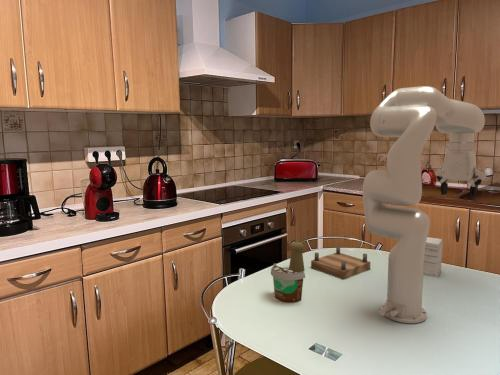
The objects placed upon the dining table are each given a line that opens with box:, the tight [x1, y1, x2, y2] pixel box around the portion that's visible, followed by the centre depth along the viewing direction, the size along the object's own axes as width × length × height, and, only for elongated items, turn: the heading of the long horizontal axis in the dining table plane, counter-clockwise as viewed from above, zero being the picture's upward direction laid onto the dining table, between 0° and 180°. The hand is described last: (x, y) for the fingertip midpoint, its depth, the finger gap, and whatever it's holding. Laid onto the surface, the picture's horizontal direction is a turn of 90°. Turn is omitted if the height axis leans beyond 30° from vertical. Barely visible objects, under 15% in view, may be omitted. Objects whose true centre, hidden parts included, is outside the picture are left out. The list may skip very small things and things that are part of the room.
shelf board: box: [310, 245, 371, 280], centre depth 153 cm, size 16×16×6 cm
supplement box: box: [423, 236, 444, 278], centre depth 148 cm, size 7×7×13 cm
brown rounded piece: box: [288, 241, 305, 272], centre depth 152 cm, size 6×6×11 cm
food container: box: [270, 263, 306, 304], centre depth 126 cm, size 12×6×10 cm, turn 47°
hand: (457, 195), depth 140 cm, fingers open, 9 cm apart
